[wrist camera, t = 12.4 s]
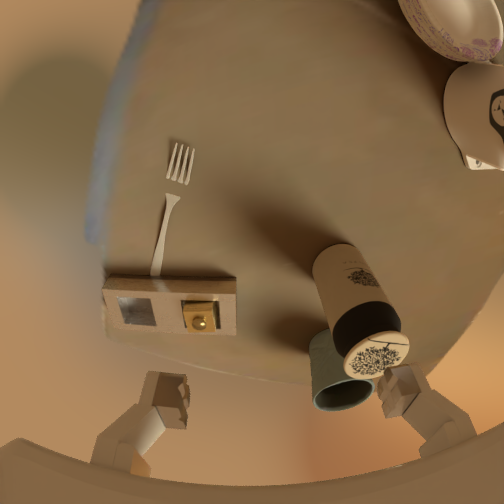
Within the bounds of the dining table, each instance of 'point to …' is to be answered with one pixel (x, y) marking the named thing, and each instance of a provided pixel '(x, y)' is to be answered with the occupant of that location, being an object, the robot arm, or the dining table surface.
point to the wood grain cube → (200, 315)
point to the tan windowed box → (168, 302)
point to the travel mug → (358, 313)
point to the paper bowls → (457, 27)
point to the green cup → (334, 377)
